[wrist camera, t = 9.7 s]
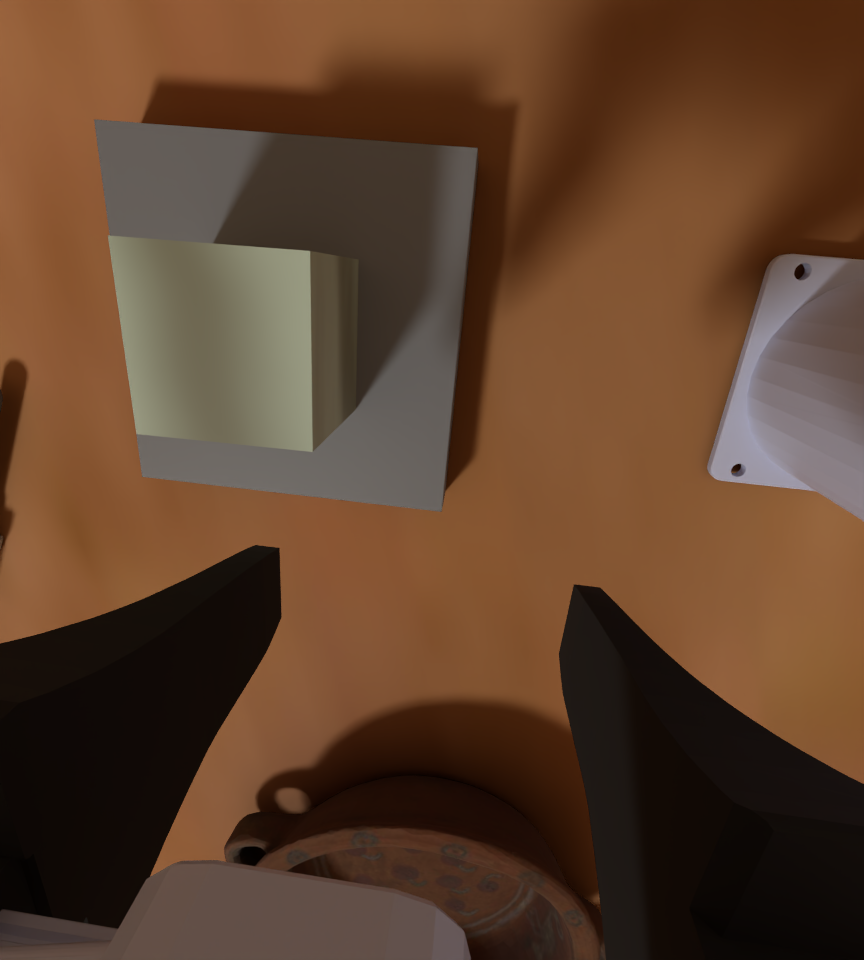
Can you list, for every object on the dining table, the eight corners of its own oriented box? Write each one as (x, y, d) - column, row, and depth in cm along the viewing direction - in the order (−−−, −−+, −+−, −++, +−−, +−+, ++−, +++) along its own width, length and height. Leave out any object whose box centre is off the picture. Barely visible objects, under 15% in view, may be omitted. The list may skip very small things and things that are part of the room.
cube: (358, 259, 17) (310, 251, 12) (355, 409, 19) (312, 452, 14) (210, 248, 17) (107, 235, 12) (222, 396, 19) (136, 433, 14)
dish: (266, 689, 27) (220, 774, 22) (669, 803, 27) (707, 911, 22) (229, 887, 33) (188, 985, 29) (554, 978, 34) (565, 1090, 29)
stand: (478, 162, 17) (477, 148, 15) (445, 491, 22) (441, 511, 20) (134, 136, 18) (94, 119, 16) (170, 460, 22) (142, 476, 20)
